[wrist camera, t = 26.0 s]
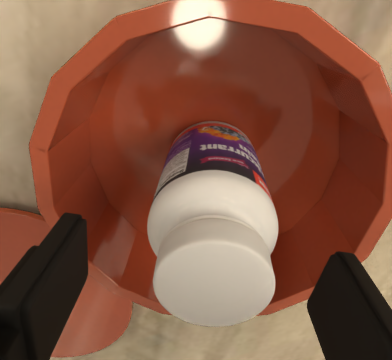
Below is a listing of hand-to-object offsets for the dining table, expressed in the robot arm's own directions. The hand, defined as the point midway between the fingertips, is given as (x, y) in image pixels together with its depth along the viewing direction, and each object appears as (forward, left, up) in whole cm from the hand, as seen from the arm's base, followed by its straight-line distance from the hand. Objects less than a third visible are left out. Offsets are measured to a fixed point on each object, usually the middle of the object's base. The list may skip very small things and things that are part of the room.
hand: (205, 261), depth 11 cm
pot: (+1, 0, -9) cm, 9 cm away
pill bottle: (+1, 0, -8) cm, 8 cm away
